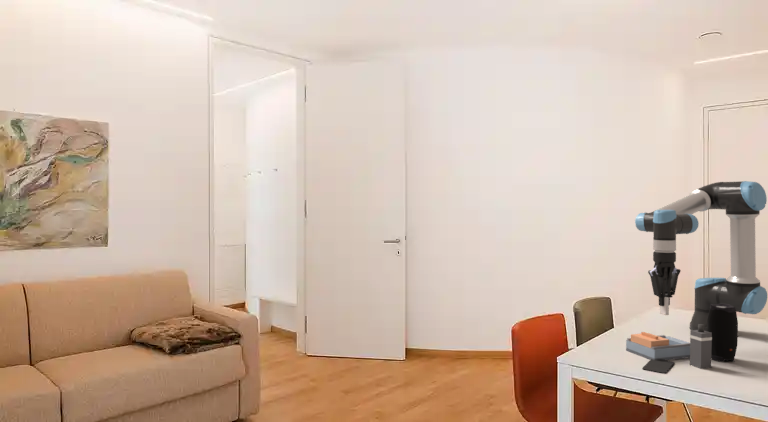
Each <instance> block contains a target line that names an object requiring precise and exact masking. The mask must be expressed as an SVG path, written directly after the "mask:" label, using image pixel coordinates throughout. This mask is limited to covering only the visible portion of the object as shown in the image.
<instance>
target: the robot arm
mask: <svg viewBox="0 0 768 422" xmlns="http://www.w3.org/2000/svg"><path fill="white" fill-rule="evenodd" d="M766 205H767V193H766V190H765V189H764V187H763V186H762V185H761V184H760V183H759V182H756V181H747V180H743V181H718V182H713V183H710V184H707V185H704V186H701V187H699V188H697V189H694V190H692V191H691V192H690V193H689V195H687V196H684V197H682V198H681V199H678V200H676V201H674V202H672V203H668V204H666V205H664V206H662V207H661V208H659V209H656V210H654V211H651V212H640V213H638V214H637V215H636V217H635V219H634V221H635V222H634V223H635V227H636V229H637V230H638V231H640V232H645V233H653V243H652V246H653V247H652V249H653V250H654V251H653V252H652V255H653V256H652V260H653V262H654V264H653V268H652V270H648V272H647V274H648V275H649V277H650V281H651V285H652V287H651V288H652V292H653V295H654V296H656V297H658V305H659V314H660V315H663V316H669V315H670V312H669V311H670V305H671V303H670V302H671V301H670V300H671V298H673V296H675V295H676V289H677V284H678V279H679V275H680V274H681V272H682V271H681V269H680V268H677V267H676V265H675V263H676V261H677V253H676V251H677V235H688V234H692V233H694V232H697V230H698V228H699V219H698V218H697V217H696V215H694V214H696V213H698V212H699V213H701V212H706V211H708V210H709V211H710V210H725V215H726V216H727V217H728V218H729V230H730V231H729V233H730V234H729V236H730V239H729V240H730V242H729V244H730V245H729V247H730V249H729V250H730V252H729V253H730V276H729V277H728V278H726V277H702V278H701V277H700V278H698V279H696V280H695V284H694V312H693V314H692V316H691V319H690V322H689V329H690V331H692V330H698V324H703V325H704V331H707V318H708V314H709V310H710V304H713V305H715V304H720V303H721V304H729V305H731V306H733V307H735V309H736V313H737V312H738V313H742V314H745V315H746V314H748V315H757V314H759V313H761V312H762V311H763V310H764V308H765V307H766V305H767V301H768V291H767V289H766V288H765V287H763V286H761V281H760V279H758V278H757V277H756V275H757V274H756V271H757V270H756V269H757V267H756V266H757V265H756V218H757V217H758V216H760V214H761V213H760V211H762V210H764V209H765V208H766Z"/></svg>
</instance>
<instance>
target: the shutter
mask: <svg viewBox="0 0 768 422" xmlns="http://www.w3.org/2000/svg"><path fill="white" fill-rule="evenodd" d="M630 338H631V341H632V342H635V343H638V344H640V345H643V346H646V347H649V348H651V347H654V346H665V345H669V339H665V338H662V337H659V335H656V334H652V333H649V332H645V331H641V333H632V334H630Z"/></svg>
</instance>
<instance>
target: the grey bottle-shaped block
mask: <svg viewBox="0 0 768 422" xmlns="http://www.w3.org/2000/svg"><path fill="white" fill-rule="evenodd" d="M689 334H690V335H689V340H690V341H689V343H690V358H689V366H691V365H692V367H695V368H697V369H700V370H702V369H711V368H712V358H711V349H712V333H711V332H707V331H704V325H703V324H698V330H690V332H689Z"/></svg>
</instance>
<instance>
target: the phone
mask: <svg viewBox="0 0 768 422" xmlns="http://www.w3.org/2000/svg"><path fill="white" fill-rule="evenodd" d="M673 366H675V362H674V361H672V360H661V359H659V360H653V359H651V360H650V359H649V360H648V362H647V363H646V364H645V365H644V366H642V370H643V371H647V372H652V373H656V374H662V375H664V374H667V373H668V372H669V371H670V369H672V367H673Z"/></svg>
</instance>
